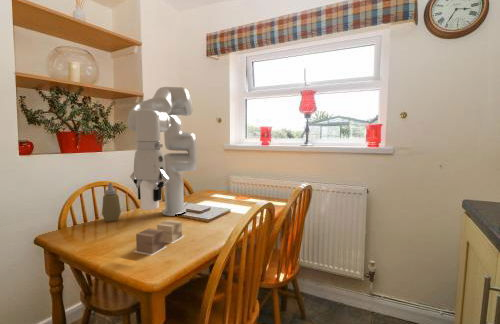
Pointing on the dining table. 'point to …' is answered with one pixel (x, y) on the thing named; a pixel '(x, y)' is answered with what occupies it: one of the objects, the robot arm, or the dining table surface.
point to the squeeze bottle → (111, 205)
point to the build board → (160, 249)
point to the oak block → (171, 230)
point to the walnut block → (150, 240)
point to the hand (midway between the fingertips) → (149, 199)
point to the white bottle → (147, 196)
